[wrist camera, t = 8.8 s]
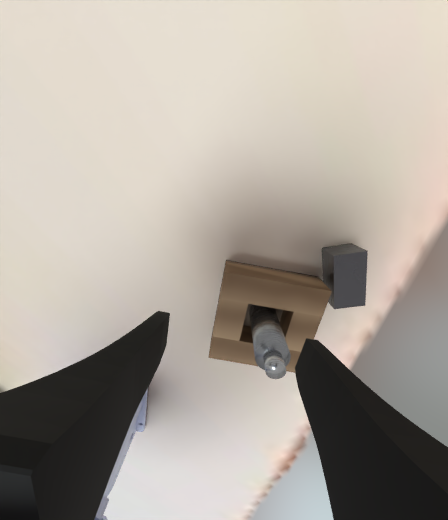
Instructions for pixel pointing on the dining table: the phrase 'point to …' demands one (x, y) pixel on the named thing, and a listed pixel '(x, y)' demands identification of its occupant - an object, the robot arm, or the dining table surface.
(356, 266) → the square bar
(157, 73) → the dining table surface
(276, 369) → the round bit
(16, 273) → the dining table surface
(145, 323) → the robot arm
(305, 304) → the socket block
